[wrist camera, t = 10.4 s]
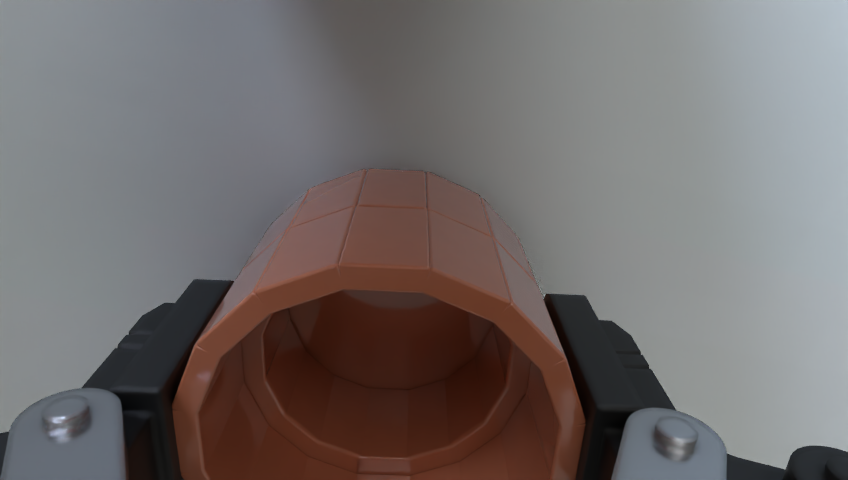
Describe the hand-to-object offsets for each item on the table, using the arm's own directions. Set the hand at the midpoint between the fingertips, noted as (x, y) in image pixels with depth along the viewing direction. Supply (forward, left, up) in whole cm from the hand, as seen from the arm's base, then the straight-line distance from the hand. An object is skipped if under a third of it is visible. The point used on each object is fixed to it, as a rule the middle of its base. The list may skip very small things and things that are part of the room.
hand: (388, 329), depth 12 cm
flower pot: (0, 0, -2) cm, 2 cm away
